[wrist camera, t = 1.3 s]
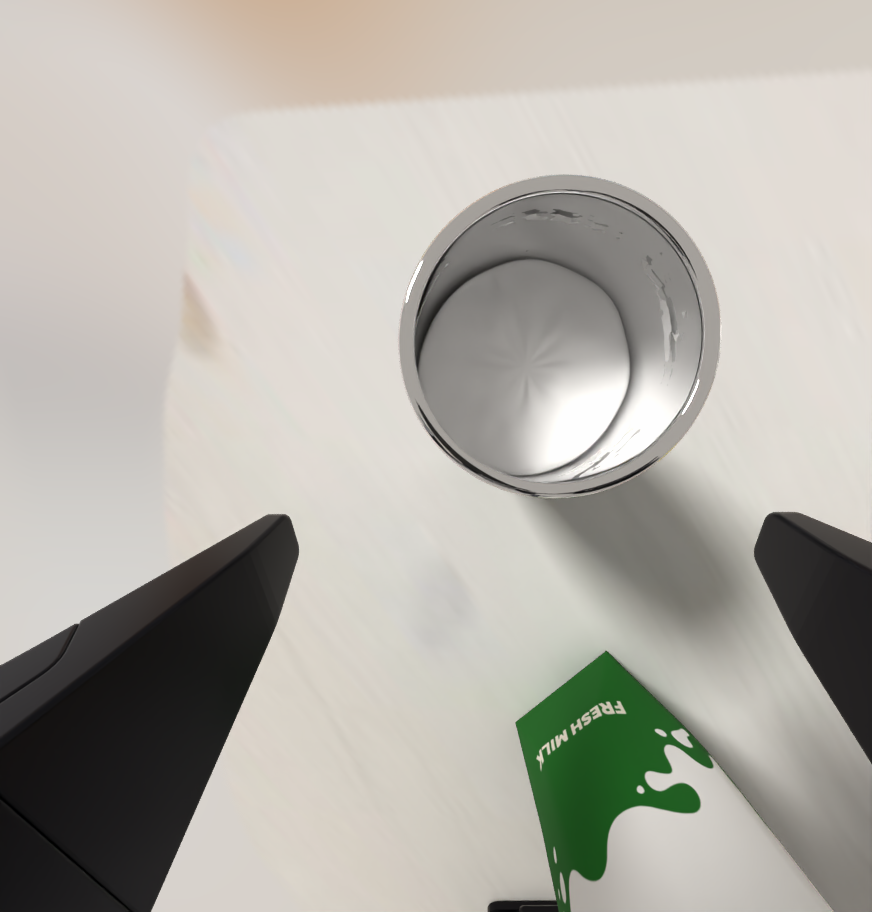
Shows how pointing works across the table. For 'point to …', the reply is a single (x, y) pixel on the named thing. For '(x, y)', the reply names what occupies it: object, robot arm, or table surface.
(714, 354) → the beer glass
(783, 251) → the table surface
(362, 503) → the table surface
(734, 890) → the milk carton
